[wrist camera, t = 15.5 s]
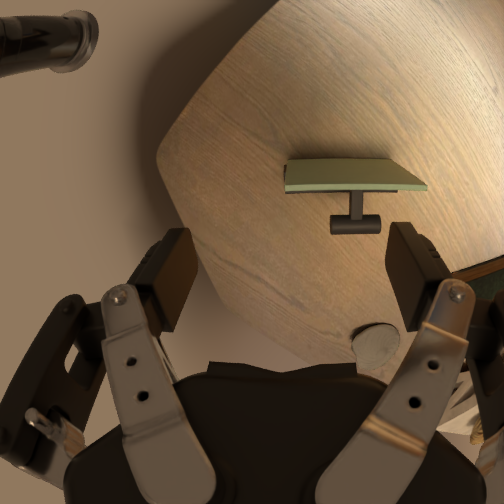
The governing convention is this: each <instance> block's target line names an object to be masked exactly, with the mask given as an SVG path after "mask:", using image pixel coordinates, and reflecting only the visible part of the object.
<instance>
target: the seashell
mask: <svg viewBox="0 0 504 504" xmlns="http://www.w3.org/2000/svg"><path fill="white" fill-rule="evenodd" d="M399 342H400V335H399V333H398V331H397V330H396V328H394V327H393V326H391V325H387V324H380V325H375V326H372V327H369V328H367V329H365V330H364V331H362V332H361V333H360V334H358V335H357V336H356V337H355V338H354V340H353V342H352V345H351V348H352V351H353V353H354V354H355V355H356V359H357V363H358V367H359V368H361V369H364V370H375V369H377V368H379V367H381V366H383V365H384V364H386V363H387V362H388V361H389V360H390V359H391V358H392V357H393V356H394V354H395V352H396V351H397V349H398V347H399Z"/></svg>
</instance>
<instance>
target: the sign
mask: <svg viewBox="0 0 504 504" xmlns="http://www.w3.org/2000/svg"><path fill="white" fill-rule="evenodd" d="M284 187H285V191H307V190H350V197H349V215H330V233H331V235H337V234H379V233H380V231H381V218H380V216H379V215H378V214H374V215H362V214H363V190H413V191H427V185H426V184H425V183H424V182H422V181H421V180H420V179H418V178H417V177H416V176H414V175H413V174H411V173H410V172H409V171H407V170H406V169H404V168H403V167H401V166H400V165H399V164H397V163H396V162H394V161H393V160H391V159H352V158H337V159H295V160H287V169H286V177H285V185H284Z"/></svg>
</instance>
